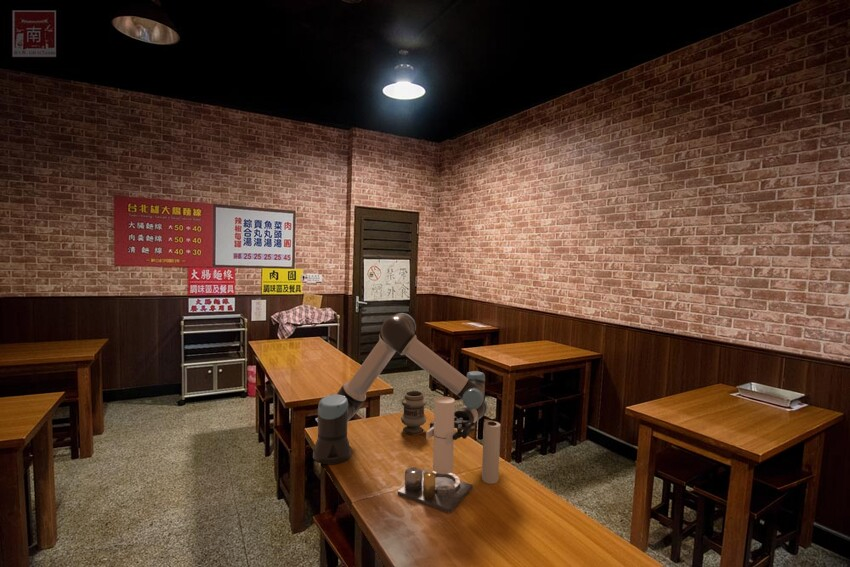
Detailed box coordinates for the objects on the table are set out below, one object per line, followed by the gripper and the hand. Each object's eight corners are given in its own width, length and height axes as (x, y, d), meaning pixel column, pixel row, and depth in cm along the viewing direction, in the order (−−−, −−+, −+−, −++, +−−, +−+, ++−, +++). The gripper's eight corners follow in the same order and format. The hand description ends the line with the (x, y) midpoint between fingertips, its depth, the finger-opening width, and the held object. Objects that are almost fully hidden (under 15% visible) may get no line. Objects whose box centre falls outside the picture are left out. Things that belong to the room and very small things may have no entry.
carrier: (396, 494, 143) (397, 470, 142) (425, 470, 160) (425, 449, 159) (450, 513, 133) (450, 488, 132) (474, 486, 149) (475, 463, 149)
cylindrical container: (429, 470, 147) (430, 400, 146) (438, 462, 153) (439, 395, 152) (447, 475, 144) (449, 404, 142) (456, 467, 150) (457, 398, 149)
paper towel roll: (498, 485, 150) (500, 427, 149) (481, 483, 151) (483, 425, 150) (498, 475, 157) (500, 419, 156) (482, 473, 158) (484, 418, 157)
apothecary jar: (396, 433, 193) (397, 395, 192) (405, 424, 204) (406, 388, 203) (421, 437, 189) (422, 398, 188) (429, 427, 201) (430, 390, 200)
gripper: (488, 432, 158) (463, 456, 139) (442, 421, 168) (412, 441, 149) (489, 413, 158) (463, 433, 138) (442, 403, 168) (412, 421, 148)
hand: (437, 438), depth 143 cm, fingers closed on cylindrical container, 7 cm apart
